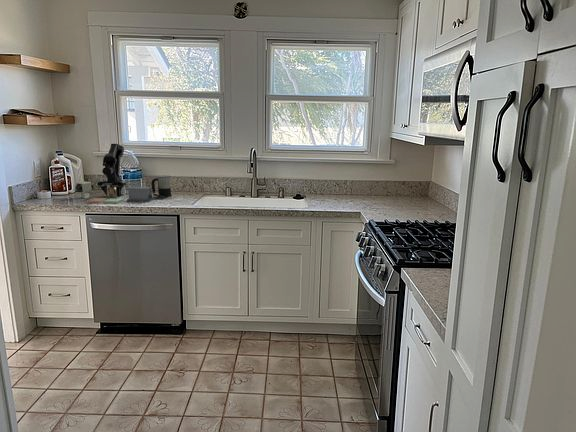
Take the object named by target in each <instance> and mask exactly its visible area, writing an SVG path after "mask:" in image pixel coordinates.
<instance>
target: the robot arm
mask: <svg viewBox="0 0 576 432" xmlns="http://www.w3.org/2000/svg"><path fill="white" fill-rule="evenodd" d="M124 152H125V148H124V146H123V145H121V144H119V143H110V148H109V150H108V153H106V154H105V155H104V157H103V159H102V167H103V168H102V175H104V176H105V178H106V180H99V181H98V182H97V186H98V187H99V188H100V189H101V190H102V191H103V193H104V195H105V197H106V196H108V186H109V187H116V193H117V197H121V196H123V195H124V193H122V189H123V188H124V187H125V186H127V181H123V179H122V177H121V174H120V171H121V160H122V159H121V158H122V157H123V155H124Z"/></svg>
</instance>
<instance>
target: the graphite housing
mask: <svg viewBox="0 0 576 432" xmlns="http://www.w3.org/2000/svg"><path fill="white" fill-rule="evenodd" d="M127 191H128V192H127V193H128V198H127V202H152V201H154V200H155V197H153V192H152V186H130V187H127Z"/></svg>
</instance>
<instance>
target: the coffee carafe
mask: <svg viewBox="0 0 576 432" xmlns="http://www.w3.org/2000/svg"><path fill="white" fill-rule="evenodd" d="M171 177H172V176H171V175H158V176H157V177H154V178H153V179H152V180H151V181H150V182H151V190H152V196H153V197H156V198H158V199H163V198H169V197H172V185H171V184H172V183H171ZM155 182H157V191H158V193H157V194H156V185H155Z"/></svg>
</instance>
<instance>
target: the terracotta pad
mask: <svg viewBox="0 0 576 432" xmlns="http://www.w3.org/2000/svg"><path fill="white" fill-rule="evenodd" d="M107 199H109V198H108V197H93V198H90V199H89V198H88V199H86V200H85V202H86V204H87V203H88V204H102V203H103V201H105V200H107Z"/></svg>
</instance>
